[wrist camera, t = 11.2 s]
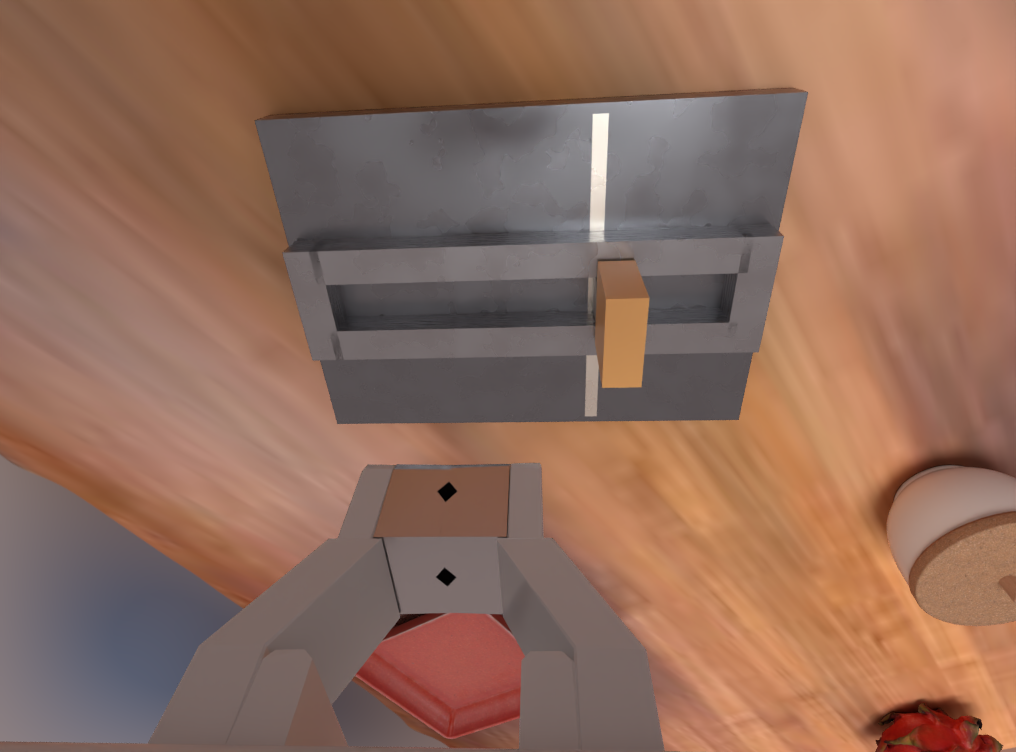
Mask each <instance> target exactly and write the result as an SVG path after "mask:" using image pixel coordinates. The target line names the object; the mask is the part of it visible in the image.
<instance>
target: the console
mask: <svg viewBox="0 0 1016 752" xmlns="http://www.w3.org/2000/svg"><path fill="white" fill-rule="evenodd" d="M807 95H808V92H806V91H803V90H799V89H796V88H777V89H758V90H739V91H719V92H700V93H681V94H662V95H642V96H623V97H604V98H585V99H566V100H546V101H527V102H508V103H489V104H469V105H450V106H431V107H412V108H392V109H373V110H354V111H335V112H315V113H296V114H277V115H268V116H266V117H263V118H260V119H257V120H255V124H256V127H257V131H258V135H259V138H260V142H261V146H262V149H263V153H264V157H265V160H266V164H267V168H268V171H269V175H270V179H271V182H272V186H273V190H274V193H275V197H276V201H277V204H278V208H279V212H280V215H281V219H282V223H283V226H284V230H285V234H286V237H287V241H288V244H289V247H288V248H287V249H286V250H285V251H284V252H283V257H284V260H285V264H286V267H287V271H288V274H289V278H290V282H291V285H292V289H293V292H294V296H295V299H296V303H297V306H298V310H299V313H300V317H301V321H302V324H303V328H304V331H305V335H306V338H307V342H308V345H309V349H310V353H311V356H312V360H320V362H321V365H322V369H323V372H324V376H325V380H326V383H327V387H328V391H329V394H330V398H331V402H332V405H333V409H334V413H335V416H336V420H337V424H364V423H465V422H566V421H668V420H739V415H740V411H741V406H742V401H743V396H744V392H745V387H746V382H747V378H748V373H749V368H750V363H751V359H752V354H753V352H759V348H760V343H761V339H762V334H763V330H764V325H765V320H766V316H767V311H768V307H769V302H770V298H771V293H772V288H773V284H774V279H775V275H776V270H777V265H778V261H779V256H780V252H781V247H782V243H783V238H784V236H783V235H782V234H781V233H780V232H779V227H780V222H781V217H782V213H783V208H784V203H785V198H786V194H787V189H788V184H789V180H790V175H791V170H792V165H793V161H794V156H795V151H796V147H797V142H798V137H799V132H800V128H801V123H802V118H803V114H804V109H805V104H806V99H807ZM628 260H635V261H636V264H637V266H638V269H639V272H640V274H641V277H642V279H643V282H644V285H645V287H646V290H647V293H648V295H649V309H648V320H647V331H646V342H645V353H644V364H643V375H642V386H641V387H628V388H602V384H601V378H600V372H599V365H598V359H597V353H596V347H595V323H596V321H595V317H594V311H593V289H594V277H597V266H598V261H628Z"/></svg>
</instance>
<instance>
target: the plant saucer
mask: <svg viewBox="0 0 1016 752" xmlns="http://www.w3.org/2000/svg"><path fill="white" fill-rule="evenodd" d="M524 657H525V655H524V654H523V652H522V650H521V648H520V646H519V645H518V643H517V641H516V639H515V637H514V636H513V634H512V632H511V630H510V628H509V627H508V625H507V623H506V621H505V620H504V618H503V616H502V615H501V614H473V613H427V614H424V615H422V616H420V617H417V618H415V619H413V620H410V621H408V622H406V623H403V624H401V625H399V626H396V627H394V628H392V629H391V630H390V631H389V633H388V634H387V635H386V636H385V638H384V639H383V640H382V641H381V643H380V644H379V645H378V647H377V648H376V649H375V650H374V652H373V653H372V654H371V655H370V657H369V658H368V659H367V661H366V662H365V663H364V664H363V666H362V667H361V668H360V669H359V671H358V672H357V673H356V675H355V676H356V677H358V678H359V679H361V680H362V681H364V682H365V683H367V684H368V685H369V686H371V687H372V688H374V689H375V690H377V691H378V692H380V693H381V694H382V695H384V696H385V697H387V698H388V699H390V700H391V701H392V702H394V703H395V704H397V705H398V706H400V707H401V708H403V709H404V710H406V711H407V712H408V713H410V714H411V715H413V716H414V717H416V718H417V719H419V720H420V721H421V722H423V723H424V724H426V725H427V726H429V727H430V728H432V729H433V730H435V731H436V732H437V733H439V734H440V735H442V736H443V737H445V738H449V739H454V738H457V737H461V736H464V735H467V734H470V733H474V732H476V731H480V730H483V729H486V728H489V727H493V726H496V725H499V724H502V723H505V722H509V721H512V720H515V719H518V718H520V695H521V660H522V659H523V658H524Z"/></svg>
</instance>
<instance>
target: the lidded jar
mask: <svg viewBox="0 0 1016 752" xmlns="http://www.w3.org/2000/svg"><path fill="white" fill-rule="evenodd" d="M887 539H888V543H889V546H890V549H891V552H892V556H893V558H894V560H895V562H896V565H897V567H898V569H899V570H900V572H901V574H902V576H903V577H904V579H905V581H906V582H907V584H908V585H909V587H910V591H911V593H912V595H913V596H914V598H915V600H916V601H917V603H918V604H919V606H920V607H921V608H922V609H923V610H924V611H925V612H926V613H928V614H929V615H931V616H933V617H934V618H936V619H939V620H942V621H944V622H948V623H952V624H957V625H966V626H986V625H996V624H1004V623H1008V622H1013V621H1016V478H1014V477H1012V476H1009V475H1007V474H1004V473H1001V472H997V471H994V470H990V469H984V468H976V467H964V466H959V465H943V466H937V467H933V468H930V469H927V470H924V471H922V472H920V473H918V474H916V475H914V476H912V477H911V478H909V479H908V480H907V481H906V482H904V483H903V484H902V486H901V487H900V488H899V489H898V491H897V492H896V494H895V497H894V502H893V504H892V506H891V509H890V511H889V514H888V519H887Z"/></svg>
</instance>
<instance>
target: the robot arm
mask: <svg viewBox="0 0 1016 752" xmlns="http://www.w3.org/2000/svg"><path fill="white" fill-rule="evenodd" d="M424 613H473V614H503V618H504V620H505V621H506V623H507V625H508V627H509V628H510V630H511V632H512V634H513V636H514V637H515V639H516V641H517V643H518V645H519V646H520V648H521V650H522V652H523V654H524V655H525V657H524V658H523V659H522V660H521V695H520V732H519V749H484V748H418V747H414V748H413V747H411V748H410V747H348V745H347V742H346V740H345V737H344V735H343V732H342V730H341V727H340V725H339V723H338V720H337V718H336V715H335V713H334V710H333V708H332V704H333V702H334V701H335V700H336V699H337V697H338V696H339V695H340V694H341V692H342V691H343V690H344V689H345V687H346V686H347V685H348V683H349V682H350V681H351V680H352V678H353V677H354V676H355V675H356V673H357V672H358V671H359V669H360V668H361V667H362V666H363V664H364V663H365V662H366V661H367V659H368V658H369V657H370V655H371V654H372V653H373V652H374V650H375V649H376V648H377V647H378V645H379V644H380V643H381V641H382V640H383V639H384V638H385V636H386V635H387V634H388V633H389V631H390V630H391V629H392V627H393V626H394V625H395V624H396V622H397V621H398V620H399V619H400V614H424ZM0 752H678V751H665V750H664V745H663V739H662V734H661V729H660V723H659V718H658V712H657V707H656V702H655V696H654V691H653V685H652V680H651V674H650V669H649V664H648V658H647V653H646V649H645V648H644V647H643V646H642V644H641V643H640V642H639V641H638V640H637V638H636V637H635V636H634V635H633V634H632V632H631V631H630V630H629V629H628V628H627V626H626V625H625V624H624V623H623V622H622V620H621V619H620V618H619V617H618V616H617V615H616V613H615V612H614V611H613V610H612V609H611V607H610V606H609V605H608V604H607V603H606V601H605V600H604V599H603V598H602V597H601V595H600V594H599V593H598V592H597V591H596V589H595V588H594V587H593V586H592V585H591V583H590V582H589V581H588V580H587V579H586V577H585V576H584V575H583V574H582V573H581V571H580V570H579V569H578V568H577V567H576V565H575V564H574V563H573V562H572V561H571V560H570V558H569V557H568V556H567V555H566V554H565V552H564V551H563V550H562V549H561V548H560V546H559V545H558V544H557V543H556V542H555V540H554V539H553V538H543V504H542V469H541V465H540V463H517V464H488V465H400V464H397V465H367V466H366V467H365V468H364V469H363V471H362V473H361V475H360V478H359V481H358V484H357V486H356V489H355V492H354V495H353V497H352V500H351V503H350V506H349V508H348V511H347V514H346V516H345V519H344V522H343V525H342V527H341V530H340V533H339V536H338V538H337V539H328V540H326V541H325V542H324V543H323V544H322V545H320V546H319V547H318V548H317V549H316V550H314V551H313V552H312V553H311V554H310V555H308V556H307V557H306V558H305V559H303V560H302V561H301V562H300V563H299V564H297V565H296V566H295V567H294V568H293V569H291V570H290V571H289V572H288V573H287V574H285V575H284V576H283V577H282V578H280V579H279V580H278V581H277V582H276V583H274V584H273V585H272V586H271V587H270V588H268V589H267V590H266V591H265V592H264V593H262V594H261V595H260V596H259V597H257V598H256V599H255V600H254V601H253V602H251V603H250V604H249V605H248V606H247V607H245V608H244V609H243V610H242V611H241V612H239V613H238V614H237V615H236V616H235V617H233V618H232V619H231V620H230V621H228V622H227V623H226V624H225V625H224V626H222V627H221V628H220V629H219V630H218V631H216V632H215V633H214V634H213V635H212V636H210V637H209V638H208V639H207V640H206V641H204V642H203V643H202V644H201V645H199V647H198V649H197V651H196V653H195V655H194V656H193V658H192V660H191V662H190V664H189V666H188V668H187V670H186V672H185V674H184V676H183V677H182V679H181V681H180V683H179V685H178V687H177V689H176V691H175V693H174V695H173V697H172V698H171V700H170V702H169V704H168V706H167V708H166V710H165V712H164V714H163V716H162V717H161V719H160V721H159V723H158V725H157V727H156V729H155V731H154V733H153V735H152V737H151V738H150V740H149V742H148V744H137V743H135V744H134V743H68V742H0Z"/></svg>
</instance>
